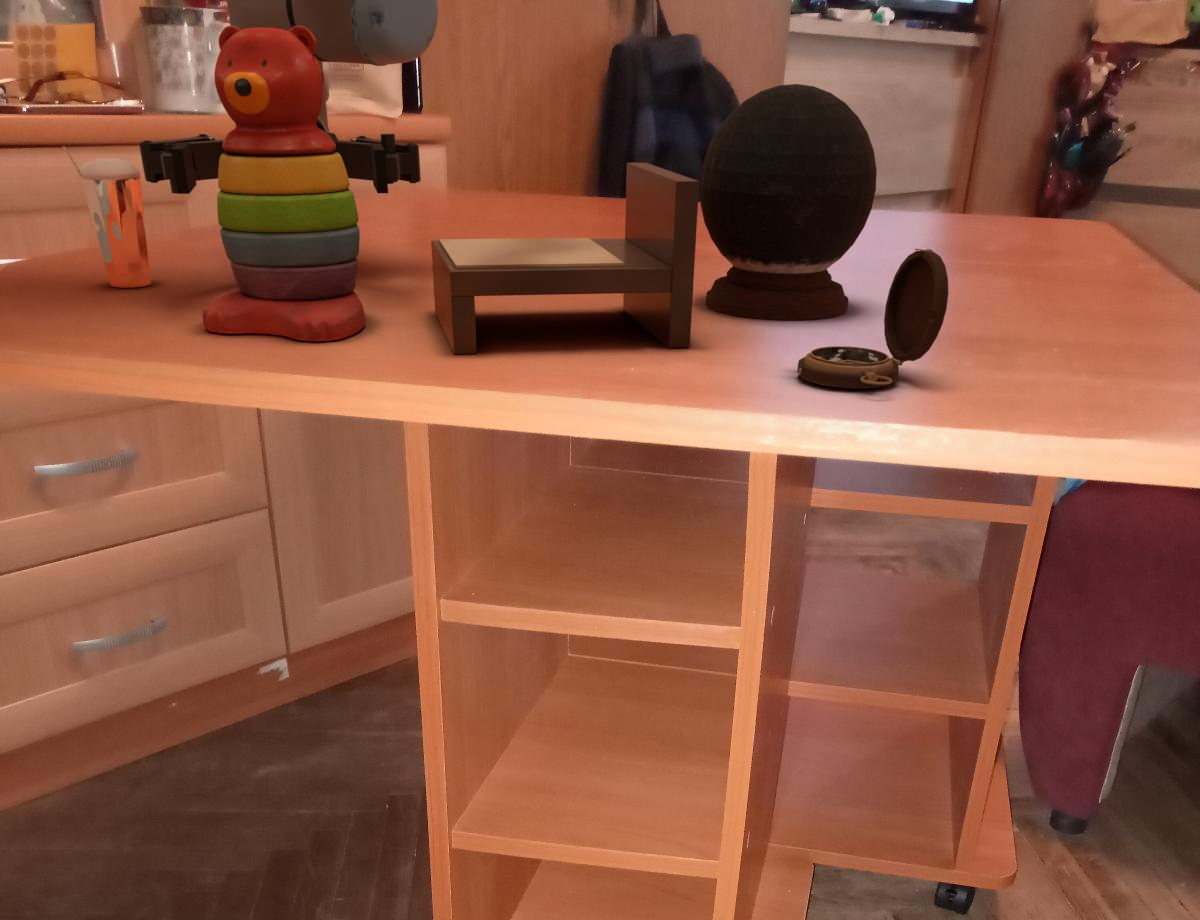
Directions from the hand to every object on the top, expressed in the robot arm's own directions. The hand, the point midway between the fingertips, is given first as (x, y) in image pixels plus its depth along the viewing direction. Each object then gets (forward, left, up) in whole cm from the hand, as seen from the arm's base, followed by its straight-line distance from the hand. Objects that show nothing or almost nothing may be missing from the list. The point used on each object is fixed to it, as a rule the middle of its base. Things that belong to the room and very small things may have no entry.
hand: (282, 171), depth 80 cm
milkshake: (-14, +15, -10) cm, 22 cm away
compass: (+34, -25, -10) cm, 43 cm away
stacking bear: (0, -3, -10) cm, 10 cm away
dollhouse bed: (+18, -7, -9) cm, 22 cm away
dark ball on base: (+37, 0, -10) cm, 38 cm away
